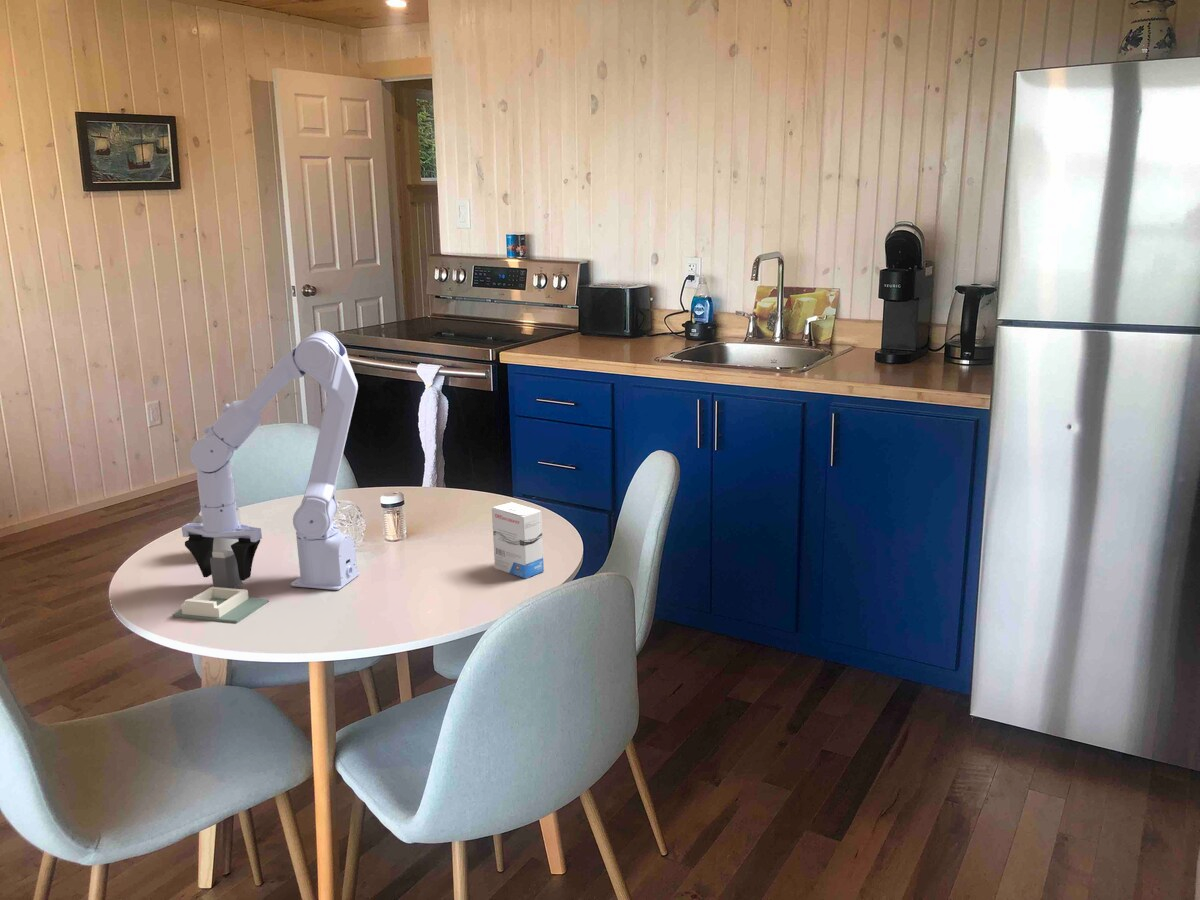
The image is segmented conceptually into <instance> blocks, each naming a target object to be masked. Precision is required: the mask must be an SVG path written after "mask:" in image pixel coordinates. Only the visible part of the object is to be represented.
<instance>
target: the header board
mask: <svg viewBox="0 0 1200 900" xmlns="http://www.w3.org/2000/svg"><path fill="white" fill-rule="evenodd" d="M267 603H269V599H268V598H259V597H249V591H248V589H242V588H241V589H240V588H234V589H232V588H220V587H213V586H211V587H209V588H207V589H206V590H204V591H202V592H200V593H197V594H196V595H193V596H192V597H190V598H187V599H185V600H184V602H183V603H182V604H180V607H181V609H179V610H177V611H176V612H174V613H172V615H171V616H172V618H182V619H189V620H190V619H191V620H200V621H201V620H202V621H203V620H204V621H212V622H213V621H214V622H220V623H221V622H223V623H225V622H226V623H231V624H232V623H233V624H238V623H239V622H240V621H242V620H244V619H245V618H246V617H248V616H250V615H251V614H253V613H254V612H256V610H258V609H260V608H261V607H263V606H264V605H266V604H267Z"/></svg>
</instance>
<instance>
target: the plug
mask: <svg viewBox="0 0 1200 900" xmlns="http://www.w3.org/2000/svg"><path fill="white" fill-rule="evenodd" d="M212 556H213V557H211V558H210V564H211V572H212V575H211V579H212V587H220V588H232V589H237V587H239V586H240V585H242V584H243V581H242V580H240V577H239V573H238V565H237V561H236V558H235V555H234V552H233V551H225V550H224V551H213V552H212Z"/></svg>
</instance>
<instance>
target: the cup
mask: <svg viewBox="0 0 1200 900" xmlns="http://www.w3.org/2000/svg"><path fill="white" fill-rule="evenodd" d="M236 509H237V517H238V521H239V524H242V521H241V513H240V508H239V506H236ZM191 523H203V522H202V514H201V511H200V512H199V513H198V515H197V516H195V517H194V518H193V520H192V522H191ZM236 542H239V541H238V539H226V538H214V541H213V551H224V550H225V551H233V550H232V548H231V545H232V544H234V543H236Z"/></svg>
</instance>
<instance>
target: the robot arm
mask: <svg viewBox="0 0 1200 900" xmlns="http://www.w3.org/2000/svg"><path fill="white" fill-rule="evenodd" d="M306 374H307V375H309V376H310V377H312V379H315V381H317V382H318V384H319V385H320V387H322V388H323V390H324V391H325V392H326V394H327V397H326V402H325V406H324V412H323V414H322V415H323V416H322V419H321V425H320V429H319V433H318V437H317V442H316V446H315V450H314V454H313V455H314V456H313V460H312V464H311V469H310V475H309V477H308V482H307V485H306V489H305V491H304V495H303V498H302V500H301V503H300V505H299V506H298V508H297V509H296V510H295V512H294V513H293V515H292V516H293V517H292V525H293V527H294V530H295V535H296V546H297V548H296V549H297V555H298V556H297V557H298V565H299V567H298V568H299V577H298V578H297V579H295V580H293V581H292V582H290V586H291V587H299V588H311V589H321V590H323V589H324V590H333V591H338V590H341V589H342V588H343V587H345V586H346V585H347V584H349V583H350V582H352V581H353V580H354V579H356V578H357V577H358V576H359V575H360V574H361V573H360V571H358V566H357V552H356V544H355V540H354V538H353V536H351V535H349V534H345V533H343V532H341V531H339V526H338V525H337V523H336V521H334V520H333V519H334V517H335V515H336V513H337V512H338V503H337V498H336V491H337V481H338V477H339V473H340V468H341V464H342V459H343V455H344V451H345V446H346V442H347V438H348V433H349V429H350V426H351V420H352V417H353V412H354V407H355V403H356V398H357V394H358V390H359V385H358V384H359V383H358V380H357V378H356V376H355V372H354V370H353V367H352V364H351V362H350V360H349V355H348V351H347V348H346V347H345V346H344V345H343V343H342V342H341V341H340V340H339V339H338V338H337V336H335V335H334V333H332V332H329V331H327V330H316V331H314V332H311V333H310V334H309V335H308V336H307V337H306V338H304V339H302V340H301V341H300V342H299V343H298V344H297V345H296V346H295V347H294V348H292V349H291V350H290V351H288V353H286V354H285V355H284V356H282V357H281V358H280V359H279V360H278V361H277V362H276V363H275V364H274V365H273V367H272V368H271V369H270V370H269V371H268V373H267V374H266V375H265V376H264V377H263V379H262V380H261V381H260V382H259V383H258V384H257V385H256V387H255V388H254V389H253V390H252V392H250V394H249V395H248V397H247V398H246V399H241V400H233V401H232V402H231V403H230V404H229V403H226V404H225V405H224V406H223V407H222V408H221V410H220V411H221V412H222V414H221V415H220V416H218V418H217V419H216V420H215V422H214V423H212V425H211V426H210V425H207V426H206V428H204V430H203V432H204V433H205V435H203V436H202V437H200V438H199V439H197V440H195V442H194V443H193V445H192V447H191V449H190V452H189V458H190V462H191V464H192V465H193V466H194V468H195V470H196V476H197V477H196V478H197V480H196V481H197V490H198V499H199V505H200V512H201V514H202V522H203V523H192V522H188V523H186V524H184V525H182V526H181V532H182V537H183V538H188V540H186V541H184V547H185V548H186V549H187V550H188V551H189V552H190V554H191V555H192V556H193V558H194V560H195V561H196V563H197V565H198V567H199V569H200V572H201V575H202V577H203V578H208V577H211V576H212V572H211V564H210V558H211V557H213V556H212V552H213V541H214V538H226V539H238V541H239V542H236V543H234V544H232V545H231V548H232V550H233V552H234V555H235V558H236V561H237V565H238V573H239V577H240V580H242V582H243V581H246V580H247V579H249V578H250V577H252V576H251V575H252V567H253V561H254V558H255V554H256V552H257V549H258V548H259V547H258V546H259V545H260V543H261V539H263V536H262V528H261V527H254V526H251V525H247V524H243V523H241V524H239V521H238V517H237V509H236V507H237V502H236V495H235V493H236V492H235V485H234V476H233V472H232V463H231V459H232V458H233V456H234V453H235V451H237V450H238V449H239V448H240V447H241V446H242V445H243V444H244V443H245V441H247V439H248V438H249V437H250V436H251V435H252V434H253V433H254V431H255V430H256V429H257V428H259V426H260V425H261V424H262V415H261V413H262V410H263V409H264V408H265V407H266V406H267V405H268V404H269V402H271V401H272V400H273V398H274V397H275V396H277V394H278V393H279V392H280V391H281V390H282V389H283V388H284V387H285V386H286V385H287V384H288V383H289V382H290V381H291V380H296V379H300V378H303V377H304V376H305V375H306Z"/></svg>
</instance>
